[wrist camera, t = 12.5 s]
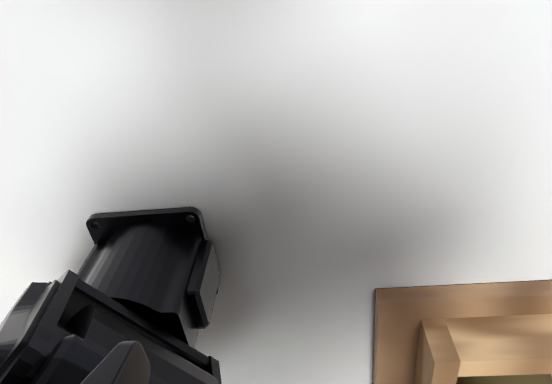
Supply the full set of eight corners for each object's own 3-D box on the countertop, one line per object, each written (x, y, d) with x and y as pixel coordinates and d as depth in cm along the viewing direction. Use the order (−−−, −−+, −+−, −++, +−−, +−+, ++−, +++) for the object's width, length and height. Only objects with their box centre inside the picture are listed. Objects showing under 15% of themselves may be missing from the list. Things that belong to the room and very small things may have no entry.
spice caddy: (372, 412, 33) (381, 470, 30) (375, 288, 26) (388, 346, 22) (582, 407, 32) (618, 467, 29) (649, 275, 25) (709, 333, 21)
